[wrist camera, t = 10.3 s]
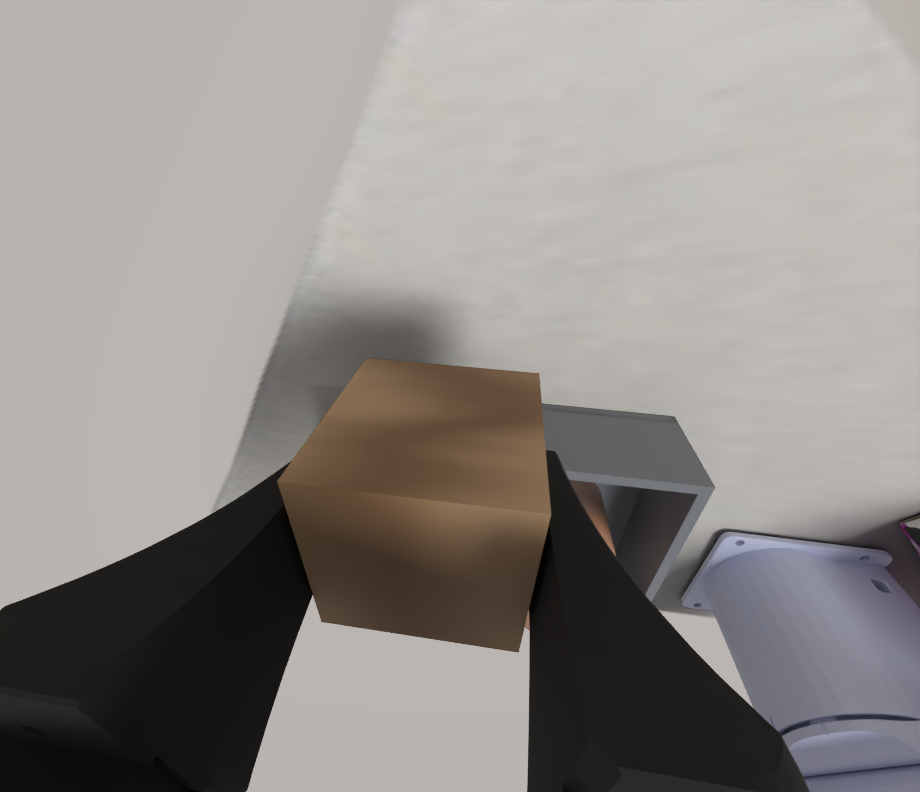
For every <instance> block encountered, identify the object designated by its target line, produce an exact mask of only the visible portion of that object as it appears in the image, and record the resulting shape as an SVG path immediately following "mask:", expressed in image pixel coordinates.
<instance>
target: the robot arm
mask: <svg viewBox="0 0 920 792" xmlns="http://www.w3.org/2000/svg"><path fill="white" fill-rule="evenodd" d="M546 460H547V472H548V483H549V495H550V506H551V518H550V522H549V526H548V530H547V535H546V539H545V543H544V547H543V551H542V556H541V560H540V564H539V568H538V572H537V577H536V581H535V585H534V589H533V593H532V598H531V602H530V606H529V625H530V680H529V681H530V682H529V683H530V684H529V687H530V688H529V745H528V747H529V748H528V787H527V789H528V790H527V792H920V607H919V606H918V605H917V604H916V603H915V602H914V601H913V599H912V598H911V597H910V596H909V595H908V594H907V592H906V591H905V590H904V589H903V588H902V587H901V586H900V584H899V583H898V582H897V581H896V580H895V579H894V578H893V576H892V575H891V574H890V573H889V572H888V571H887V569H886V568H885V567H886V566H887V565H888V564H890V563H891V561H892V560H893V557H892V556H891V555H890V554H889V553H888V552H887V551H883V550H876V549H868V548H859V547H851V546H843V545H835V544H827V543H819V542H810V541H802V540H794V539H786V538H778V537H770V536H761V535H753V534H745V533H737V532H725V533H723V534H722V535H721V536H720V537H719V539H718V540H717V542H716V544H715V545H714V547H713V548H712V550H711V552H710V553H709V555H708V556H707V558H706V560H705V561H704V563H703V564H702V566H701V568H700V569H699V571H698V572H697V574H696V576H695V577H694V579H693V580H692V582H691V584H690V585H689V587H688V588H687V590H686V592H685V593H684V595H683V596H682V598H681V602H682V604H683V606H685V607H688V608H694V609H701V610H708V611H713V612H714V614H715V617H716V619H717V621H718V624H719V626H720V629H721V631H722V634H723V636H724V638H725V641H726V643H727V646H728V648H729V650H730V653H731V655H732V658H733V660H734V662H735V665H736V667H737V669H738V672H739V674H740V676H741V679H742V681H743V684H744V686H745V689H746V691H747V694H748V696H749V698H750V701H751V703H752V706H753V708H752V707H751V706H750V705H749V704H748V703H747V702H746V701H745V700H744V699H743V698H742V697H741V696H740V695H739V694H738V693H736V692H735V691H734V690H733V689H732V688H731V687H730V686H729V685H728V684H727V683H726V682H725V681H724V680H723V679H722V678H721V677H720V676H719V675H718V674H717V673H716V672H715V671H714V670H713V669H712V668H711V667H710V666H709V665H708V664H707V663H706V662H705V661H704V660H703V659H702V658H701V657H700V656H699V655H698V654H697V653H696V652H695V651H694V650H693V649H692V648H691V647H690V645H689V644H688V643H687V642H686V641H685V640H684V639H683V638H682V636H681V635H680V634H679V633H678V632H677V631H676V630H675V629H674V627H673V626H672V625H671V624H670V623H669V622H668V621H667V620H666V619H665V617H664V616H663V615H662V614H661V613H660V612H659V611H658V610H657V608H656V607H655V606H654V605H653V604H652V603H651V601H650V600H649V599H648V598H647V596H646V595H645V594H644V593H643V592H642V590H641V589H640V588H639V587H638V585H637V584H636V583H635V582H634V580H633V579H632V578H631V576H630V575H629V574H628V572H627V571H626V570H625V568H624V567H623V566H622V565H621V563H620V562H619V560H618V559H617V558H616V556H615V555H614V553H613V552H612V550H611V549H610V548H609V546H608V545H607V543H606V542H605V540H604V539H603V537H602V536H601V534H600V533H599V531H598V529H597V528H596V526H595V525H594V523H593V521H592V520H591V518H590V517H589V515H588V513H587V511H586V510H585V508H584V506H583V504H582V503H581V501H580V499H579V498H578V496H577V494H576V492H575V490H574V488H573V486H572V484H571V482H570V480H569V478H568V476H567V474H566V472H565V470H564V468H563V466H562V464H561V461H560V459H559V457H558V454H557V453H556V452H555V451H551V450H546ZM290 463H291V462H289V463H288V464H287V465H285V466H284V467H283V468H281V469H280V470H278V471H277V472H276V473H274V474H273V475H271V476H270V477H268V478H267V479H265V480H264V481H263V482H261V483H260V484H258V485H257V486H255V487H254V488H252V489H251V490H249V491H248V492H246V493H245V494H243V495H242V496H240V497H239V498H237V499H236V500H234V501H232V502H231V503H229V504H228V505H226V506H224V507H223V508H221V509H219V510H217V511H216V512H214V513H212V514H211V515H209V516H207V517H206V518H204V519H202V520H200V521H199V522H197V523H195V524H193V525H191V526H189V527H187V528H185V529H183V530H181V531H179V532H177V533H175V534H173V535H172V536H170V537H168V538H166V539H164V540H162V541H160V542H158V543H156V544H154V545H152V546H150V547H148V548H146V549H144V550H141V551H139V552H137V553H135V554H133V555H131V556H128V557H126V558H124V559H122V560H120V561H117V562H115V563H113V564H111V565H108V566H106V567H104V568H102V569H99V570H97V571H94V572H92V573H90V574H87V575H85V576H83V577H80V578H78V579H75V580H73V581H70V582H67V583H65V584H62V585H60V586H57V587H55V588H52V589H49V590H47V591H44V592H42V593H39V594H37V595H34V596H31V597H29V598H26V599H23V600H21V601H18V602H16V603H13V604H10V605H7V606H5V607H4V608H2V609H1V610H0V792H246V791H247V789H248V786H249V782H250V779H251V775H252V771H253V768H254V765H255V762H256V758H257V755H258V752H259V748H260V745H261V742H262V738H263V736H264V732H265V729H266V725H267V722H268V719H269V716H270V713H271V710H272V707H273V704H274V701H275V698H276V695H277V692H278V689H279V686H280V683H281V680H282V676H283V674H284V671H285V668H286V665H287V662H288V660H289V657H290V654H291V651H292V648H293V646H294V643H295V640H296V637H297V634H298V632H299V629H300V627H301V624H302V621H303V619H304V616H305V613H306V610H307V608H308V605H309V603H310V600H311V598H312V595H313V593H312V590H311V587H310V584H309V580H308V577H307V574H306V571H305V568H304V565H303V562H302V558H301V555H300V552H299V549H298V546H297V543H296V539H295V536H294V533H293V530H292V527H291V524H290V520H289V517H288V514H287V511H286V508H285V505H284V502H283V498H282V495H281V492H280V489H279V486H278V483H277V481H278V479H279V478H280V477H281V475H282V474H283V472H284V471H285V470H286V468H287V467H288V466H289V464H290Z"/></svg>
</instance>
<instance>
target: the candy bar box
mask: <svg viewBox="0 0 920 792" xmlns="http://www.w3.org/2000/svg"><path fill="white" fill-rule="evenodd" d="M900 526H901V528H902V529H903V531H904V533H905V534H906V536H907V537H908V539H909V540H910V542H911V544H912V545H913V547H914V549H915V550H916V552H917V553H918V555H919V556H920V515H919V516H917V517H913V518H911V519H908V520H905V521H902V522H901V523H900Z"/></svg>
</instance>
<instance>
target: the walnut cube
mask: <svg viewBox="0 0 920 792" xmlns="http://www.w3.org/2000/svg"><path fill="white" fill-rule="evenodd" d="M277 483H278V486H279V489H280V492H281V495H282V498H283V502H284V505H285V508H286V511H287V514H288V517H289V520H290V524H291V527H292V530H293V533H294V536H295V539H296V543H297V546H298V549H299V552H300V555H301V558H302V562H303V565H304V568H305V571H306V574H307V577H308V580H309V584H310V587H311V590H312V593H313V596H314V599H315V603H316V606H317V609H318V612H319V615H320V618H321V621H322V622H326V623H333V624H340V625H345V626H352V627H358V628H365V629H372V630H378V631H384V632H391V633H397V634H404V635H410V636H416V637H423V638H429V639H436V640H442V641H449V642H455V643H461V644H468V645H475V646H481V647H487V648H493V649H500V650H506V651H513V652H519V648H520V644H521V639H522V635H523V631H524V627H525V623H526V619H527V614H528V610H529V606H530V602H531V598H532V593H533V589H534V585H535V581H536V577H537V572H538V568H539V564H540V560H541V556H542V551H543V547H544V543H545V539H546V535H547V530H548V526H549V522H550V518H551V506H550V495H549V483H548V472H547V460H546V448H545V437H544V425H543V414H542V402H541V391H540V379H539V373H528V372H517V371H506V370H495V369H483V368H472V367H461V366H450V365H439V364H428V363H416V362H405V361H394V360H383V359H372V358H366V359H365V361H364V362H363V364H362V365H361V366H360V368H359V369H358V370H357V372H356V373H355V375H354V376H353V377H352V379H351V380H350V381H349V383H348V384H347V386H346V387H345V388H344V390H343V391H342V392H341V394H340V395H339V397H338V398H337V399H336V401H335V402H334V404H333V405H332V406H331V408H330V409H329V410H328V412H327V413H326V415H325V416H324V417H323V419H322V420H321V421H320V423H319V424H318V426H317V427H316V428H315V430H314V431H313V432H312V434H311V435H310V437H309V438H308V439H307V441H306V442H305V443H304V445H303V446H302V448H301V449H300V450H299V452H298V453H297V454H296V456H295V457H294V459H293V460H292V461H291V463H290V464H289V466H288V467H287V468H286V470H285V471H284V472H283V474H282V475H281V477H280V478H279V479H278V481H277Z"/></svg>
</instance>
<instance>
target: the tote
mask: <svg viewBox="0 0 920 792" xmlns="http://www.w3.org/2000/svg"><path fill="white" fill-rule="evenodd" d="M542 414H543V425H544V437H545V448H546V450H551V451H555V452H556V453H557V454H558V457H559V459H560V461H561V464H562V466H563V468H564V470H565V472H566V474H567V476H568V478H569V480H576V481H585V482H593V483H596V484H597V486H598V487H599V489H600V491H601V494H602V498H603V502H604V506H605V511H606V515H607V519H608V523H609V528H610V532H611V536H612V540H613V545H614V549H615V553H616V557H617V559H618V560H619V562H620V563H621V565H622V566H623V567H624V568H625V570H626V571H627V572H628V574H629V575H630V576H631V578H632V579H633V580H634V582H635V583H636V584H637V585H638V587H639V588H640V589H641V590H642V592H643V593H644V594H645V595H646V596H647V598H648V599H649V600H650V601H651V602H652V601H653V599H654V597H655V595H656V593H657V592H658V590H659V588H660V586H661V584H662V583H663V581H664V579H665V577H666V575H667V574H668V572H669V570H670V568H671V566H672V565H673V563H674V561H675V559H676V557H677V556H678V554H679V552H680V550H681V548H682V547H683V545H684V543H685V541H686V539H687V538H688V536H689V534H690V532H691V530H692V529H693V527H694V525H695V523H696V521H697V520H698V518H699V516H700V514H701V512H702V511H703V509H704V507H705V505H706V503H707V501H708V500H709V498H710V496H711V494H712V492H713V491H714V489H715V486H714V484H713V483H712V481H711V479H710V478H709V476H708V474H707V472H706V471H705V469H704V467H703V465H702V464H701V462H700V460H699V458H698V457H697V455H696V453H695V451H694V450H693V448H692V446H691V444H690V443H689V441H688V439H687V437H686V436H685V434H684V432H683V431H682V429H681V427H680V425H679V424H678V422H677V420H676V418H675V417H670V416H660V415H650V414H640V413H630V412H619V411H609V410H599V409H589V408H578V407H568V406H558V405H548V404H542Z"/></svg>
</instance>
